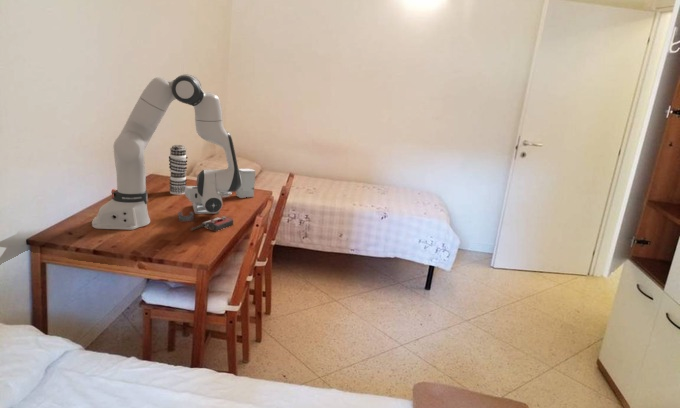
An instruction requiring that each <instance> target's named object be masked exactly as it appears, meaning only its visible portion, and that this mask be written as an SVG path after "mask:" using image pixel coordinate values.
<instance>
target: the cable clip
mask: <svg viewBox="0 0 680 408" xmlns="http://www.w3.org/2000/svg"><path fill="white" fill-rule="evenodd" d="M178 221H179V222H194V211H189V215H183V213H182V211H178Z"/></svg>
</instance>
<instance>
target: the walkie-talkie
mask: <svg viewBox="0 0 680 408" xmlns="http://www.w3.org/2000/svg"><path fill="white" fill-rule="evenodd" d="M232 225H233V226H234V218H231V217H227V216H221V217H218V216H217V217H216V218H212V219H209V220H206V221H203V222H202V223H201V224H200V225H196V226H194V227H192V228H191V227H190V231H194V230H197V229H201V228H205V229H207V228H208V229H207V230H210V229H211V230H210V231H214V230H215V231H214V232H219V231H218V230H220V231H222V230H224V229H223V228H225V229H227V228H226V227H228V228H230V227H232ZM229 226H230V227H229ZM221 229H222V230H221Z"/></svg>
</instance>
